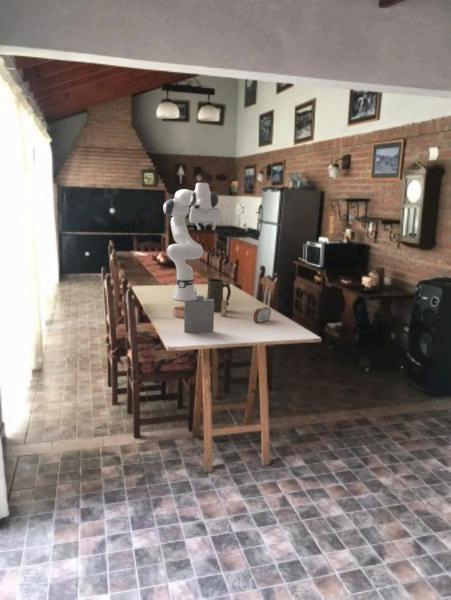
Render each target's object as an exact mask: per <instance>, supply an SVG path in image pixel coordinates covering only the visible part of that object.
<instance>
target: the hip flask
mask: <svg viewBox="0 0 451 600" xmlns="http://www.w3.org/2000/svg"><path fill="white" fill-rule="evenodd" d="M184 306H185V315H184V318H183V320H184V324H183V327H184V328H183V333H187V334H189V333H190V334H194V333H195V334H199V333H200V334H201V333H204V332H205V333H213V332H214V325H215V324H214V323H215V322H214V321H215V317H214V316H215V312H214V299H207V298H206V299H205V298H204V295H202V294H198V295H197V299H190V300H185V301H184Z"/></svg>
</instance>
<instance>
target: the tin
mask: <svg viewBox="0 0 451 600" xmlns="http://www.w3.org/2000/svg"><path fill="white" fill-rule="evenodd" d="M271 313H272V309H271V308H270V307H268V306H264V307H259V308H257V309H255V311H254V312H253V318H252V319H253V321H254V322H255V323H258V324H259V323H263V322H264V323H265V322H267V321H269V319H270V318H271Z"/></svg>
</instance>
